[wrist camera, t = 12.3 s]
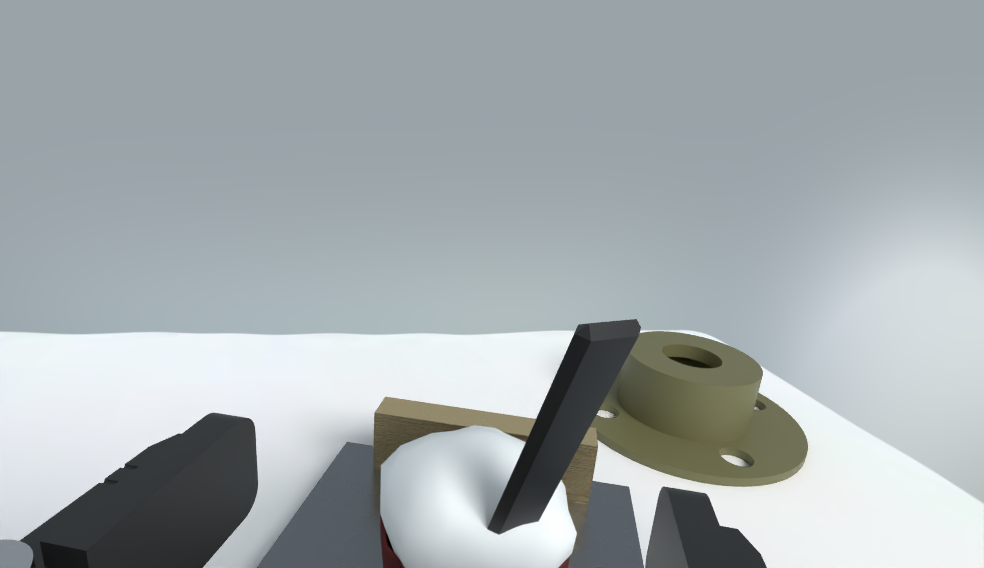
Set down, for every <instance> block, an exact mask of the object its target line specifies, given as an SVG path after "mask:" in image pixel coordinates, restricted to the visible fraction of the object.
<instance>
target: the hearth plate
mask: <svg viewBox="0 0 984 568" xmlns="http://www.w3.org/2000/svg"><path fill="white" fill-rule="evenodd" d="M535 421H536V419H532V418H525V417H519V416H512V415H505V414H498V413H492V412H485V411H478V410H471V409H465V408H458V407H451V406H444V405H438V404H431V403H424V402H418V401H411V400H404V399H397V398H391V397H385V398H384V400H383V401H382V403H381V404H380V405H379V407H378V408H377V410H376V411H375V416H374V446H369V445H363V444H357V443H350V442H347V443H346V444H345V446H344V447H343V448H342V450H341V451H340V453H339V454H338V455H337V457H336V458H335V460H334V461H333V462H332V464H331V465H330V466H329V468H328V469H327V471H326V472H325V473H324V475H323V476H322V478H321V479H320V480H319V482H318V483H317V485H316V486H315V487H314V489H313V490H312V492H311V493H310V494H309V496H308V497H307V499H306V500H305V501H304V503H303V504H302V506H301V507H300V508H299V510H298V511H297V513H296V514H295V515H294V517H293V518H292V520H291V521H290V522H289V524H288V525H287V527H286V528H285V529H284V531H283V532H282V534H281V535H280V536H279V538H278V539H277V541H276V542H275V543H274V545H273V546H272V548H271V549H270V550H269V552H268V553H267V554H266V556H265V557H264V559H263V560H262V561H261V563H260V564H259V566H258V567H257V568H383V560H382V549H381V537H380V495H381V465H382V464H383V463H384V462H385V461H386V460H387V459H388V458H389V457H390V456H391V455H392V454H393V453H394V452H395V451H396V450H397V449H398V448H399V447H400V446H401V445H403V444H406V443H408V442H411V441H413V440H416V439H418V438H421V437H423V436H426V435H428V434H431V433H437V432H447V431H455V430H459V429H462V428H466V427H470V426H473V425H477V426H485V427H492V428H496V429H498V430H500V431H502V432H504V433H506V434H508V435H510V436H513V437H515V438H517V439H520V440H522V441H524V442H526V441H527V438H528V436H529V434H530V432H531V429H532V427H533V425H534V423H535ZM597 449H598V442H597V433H596V428H593V427H589V429H588V431H587V433H586V435H585V437H584V438H583V440H582V442H581V444H580V446H579V448H578V450H577V451H576V453H575V455H574V457H573V459H572V461H571V463H570V464H569V466H568V468H567V470H566V472H565V474H564V475H563V477H562V479H561V480H562V482H563V484H564V486H565V489H566V496H567V504H568V511H569V513H570V516H571V519H572V521H573V524H574V527H575V530H576V532H577V535H576V539H575V543H574V547H573V551H572V554H571V555H570V560H569V565H568V568H644V565H643V560H642V554H641V549H640V544H639V538H638V533H637V528H636V522H635V517H634V511H633V506H632V501H631V495H630V490H629V487H627V486H621V485H614V484H608V483H602V482H596V481H592V479H593V473H594V467H595V461H596V455H597Z"/></svg>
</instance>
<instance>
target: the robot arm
mask: <svg viewBox="0 0 984 568" xmlns="http://www.w3.org/2000/svg"><path fill="white" fill-rule="evenodd" d="M257 489H258V475H257V455H256V436H255V426H254V423H253V421H252V420H251V419H249V418H244V417H237V416H231V415H225V414H219V413H210V414H208V415H206V416H205V417H203V418H202V419H201V420H199V421H198V422H197V423H196V424H194V425H193V426H192V427H190V428H189V429H188V430H186V431H185V432H184V433H182V434H177V435H175V436H172V437H170V438H168V439H165V440H163V441H161V442H159V443H156V444H154V445H152V446H150V447H148V448H147V449H145V450H144V451H143V452H141V453H140V454H138V455H137V456H136V457H134V458H133V459H132V460H130V461H129V462H127V463H126V464H125V467H124V468H119V469H118V470H116V471H115V472H114V473H112V474H111V475H109V476H108V477H107V478H105V481H104V483H98V484H97V485H96V486H94V487H93V488H92V489H90V490H89V491H87V492H86V493H85V494H83V495H82V496H81V497H79V498H78V499H76V500H75V501H74V502H72V503H71V504H70V505H68V506H67V507H65V508H64V509H63V510H61V511H60V512H59V513H57V514H56V515H54V516H53V517H52V518H50V519H49V520H48V521H46V522H45V523H43V524H42V525H41V526H39V527H38V528H37V529H35V530H34V531H32V532H31V533H30V534H28V535H27V536H26V537H24V538H23V539H21V540H20V541H16V540H0V568H203V566H204V565H205V564H206V563H207V562H208V561H209V560H210V558H211V557H212V556H213V555H214V554H215V553H216V551H217V550H218V549H219V548H220V547H221V546H222V544H223V543H224V542H225V541H226V540H227V539H228V537H229V536H230V535H231V534H232V533H233V532H234V531H235V529H236V528H237V527H238V526H239V525H240V524H241V522H242V521H243V520H244V519H245V518H246V516H247V515H248V513H249V512H250V510H251V508H252V506H253V504H254V501H255V498H256V494H257ZM645 568H767V567H766V565H765V563H764V561H763V558H762V556H761V554H760V553H759V552H758V551H757V550H756V549H755V547H754V546H753V545H752V544H751V543H750V542H749V541H748V540H747V539H746V538H745V537H744V536H743V534H742V533H741V532H740V531H739V530H738V529H735V528H729V527H723V526H720V525H719V523H718V520H717V518H716V515H715V512H714V510H713V507H712V504H711V502H710V499H709V497H708V496H707V494H705V493H700V492H694V491H687V490H681V489H675V488H669V487H662V489H661V491H660V493H659V497H658V502H657V507H656V512H655V516H654V521H653V526H652V531H651V536H650V541H649V546H648V551H647V556H646V565H645Z"/></svg>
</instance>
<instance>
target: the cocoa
mask: <svg viewBox="0 0 984 568" xmlns="http://www.w3.org/2000/svg"><path fill="white" fill-rule="evenodd" d="M640 328H641V327H640V325H639V323H638V321H637V320H636V319H634V320H622V321H611V322H600V323H590V324H581V325H578V327H577V329H576V331H575V333H574V336H573V338H572V340H571V342H570V345H569V347H568V349H567V351H566V354H565V356H564V358H563V360H562V362H561V365H560V367H559V369H558V371H557V374H556V376H555V378H554V380H553V383H552V385H551V387H550V389H549V391H548V394H547V396H546V398H545V400H544V403H543V405H542V407H541V409H540V412H539V414H538V416H537V418H536V421H535V423H534V425H533V427H532V429H531V432H530V434H529V436H528V438H527V441H526V442H524V441H522V440H520V439H517V438H515V437H513V436H510V435H508V434H506V433H504V432H502V431H500V430H498V429H496V428H492V427H485V426H477V425H473V426H470V427H466V428H462V429H459V430H455V431H447V432H437V433H431V434H428V435H426V436H423V437H421V438H418V439H416V440H413V441H411V442H408V443H406V444H403V445H401V446H400V447H399V448H398V449H397V450H396V451H395V452H394V453H393V454H392V455H391V456H390V457H389V458H388V459H387V460H386V461H385V462H384V463H383V464H382V465H381V495H380V537H381V549H382V560H383V568H568V565H569V560H570V555H571V554H572V551H573V547H574V543H575V539H576V535H577V532H576V530H575V527H574V524H573V521H572V519H571V516H570V513H569V511H568V504H567V496H566V489H565V486H564V484H563V482H562V480H561V479H562V477H563V475H564V474H565V472H566V470H567V468H568V466H569V464H570V463H571V461H572V459H573V457H574V455H575V453H576V451H577V450H578V448H579V446H580V444H581V442H582V440H583V438H584V437H585V435H586V433H587V431H588V429H589V427H590V426H591V424H592V422H593V420H594V418H595V416H596V414H597V413H598V411H599V409H600V407H601V405H602V403H603V401H604V400H605V398H606V396H607V394H608V392H609V390H610V389H611V387H612V385H613V383H614V381H615V379H616V377H617V376H618V374H619V372H620V370H621V368H622V366H623V364H624V363H625V361H626V359H627V357H628V355H629V353H630V352H631V350H632V348H633V346H634V344H635V342H636V340H637V339H638V337H639V333H640Z"/></svg>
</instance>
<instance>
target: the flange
mask: <svg viewBox="0 0 984 568" xmlns="http://www.w3.org/2000/svg"><path fill="white" fill-rule="evenodd" d="M762 376H763V371H762V368H761V367H760V365H759V364H758V363H757V362H756V361H755V360H754V359H752V358H751V357H749V356H748V355H746V354H745V353H743V352H741V351H739V350H737V349H735V348H733V347H730V346H728V345H725V344H723V343H720V342H717V341H714V340H711V339H707V338H703V337H699V336H695V335H690V334H684V333H677V332H664V331H653V332H644V333H639V337H638V339H637V340H636V342H635V344H634V346H633V348H632V350H631V352H630V353H629V355H628V357H627V359H626V361H625V363H624V364H623V366H622V368H621V370H620V372H619V374H618V376H617V377H616V379H615V381H614V383H613V385H612V387H611V389H610V390H609V392H608V394H607V396H606V398H605V400H604V401H603V403H602V405H601V407H600V409H599V410H605V411H608V412H611V413H613V414H614V415H615V416H616V417H615V418H604V417H600V416H598V415H596V416H595V418H594V420H593V422H592V424H591V426H590V427H593V428H596V433H597V439H598V440H599V441H601V442H602V443H603V444H605V445H606V446H608V447H609V448H611V449H613V450H614V451H616V452H618V453H619V454H621V455H623V456H625V457H627V458H629V459H631V460H633V461H635V462H638V463H640V464H642V465H644V466H647V467H649V468H652V469H655V470H657V471H660V472H663V473H666V474H669V475H673V476H676V477H680V478H683V479H688V480H692V481H697V482H702V483H707V484H714V485H723V486H740V487H745V486H761V485H768V484H773V483H777V482H780V481H783V480H785V479H787V478H789V477H791V476H793V475H794V474H796V473H797V472H798V471H799V470H800V469H801V467H802V466H803V464H804V462H805V458H806V455H807V451H808V443H807V439H806V436H805V434H804V432H803V430H802V429H801V427H800V426H799V424H798V423H797V422H796V421H795V420H794V419H793V418H792V417H791V416H790V415H789V414H788V413H787V412H786V411H785V410H784V409H782V408H781V407H780V406H778V405H777V404H776V403H774V402H773V401H771V400H770V399H768V398H767V397H765V396H763V395H762V394H760V393H758V391H759V387H760V383H761V380H762ZM755 406H756V407H758V408H760V409H761V410H754V407H755ZM721 455H732V456H736V457H738V458H741V459H743V460H744V461H746V462H747V463H748V464H750V466H751V467H741V466H737V465H734V464H731V463H729V462H727V461H726V460H724V459H723V458H722V457H721Z"/></svg>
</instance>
